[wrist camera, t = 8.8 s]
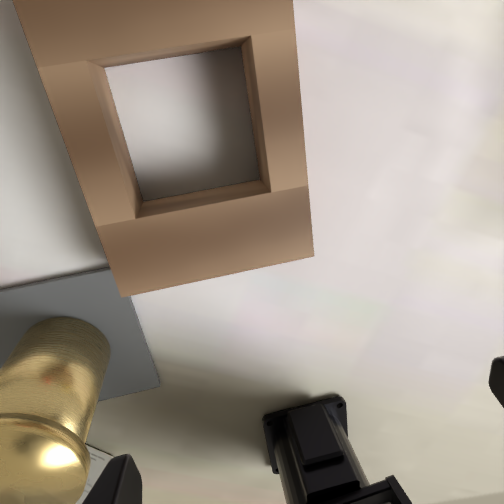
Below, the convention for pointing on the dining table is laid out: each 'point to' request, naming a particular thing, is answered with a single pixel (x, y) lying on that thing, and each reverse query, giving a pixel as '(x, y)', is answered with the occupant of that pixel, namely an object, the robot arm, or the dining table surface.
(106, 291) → the felt pad
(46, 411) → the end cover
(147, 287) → the bore block
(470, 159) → the dining table surface
